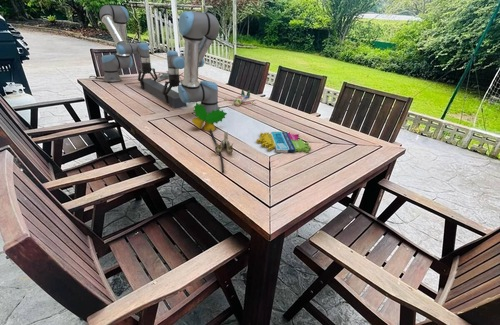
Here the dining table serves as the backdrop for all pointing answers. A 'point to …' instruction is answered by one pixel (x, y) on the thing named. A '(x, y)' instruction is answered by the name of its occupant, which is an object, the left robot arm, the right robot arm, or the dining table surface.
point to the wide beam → (157, 90)
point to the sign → (283, 142)
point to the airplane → (163, 76)
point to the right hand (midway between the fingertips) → (175, 102)
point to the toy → (241, 99)
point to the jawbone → (224, 145)
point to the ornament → (207, 117)
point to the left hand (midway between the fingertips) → (149, 88)
